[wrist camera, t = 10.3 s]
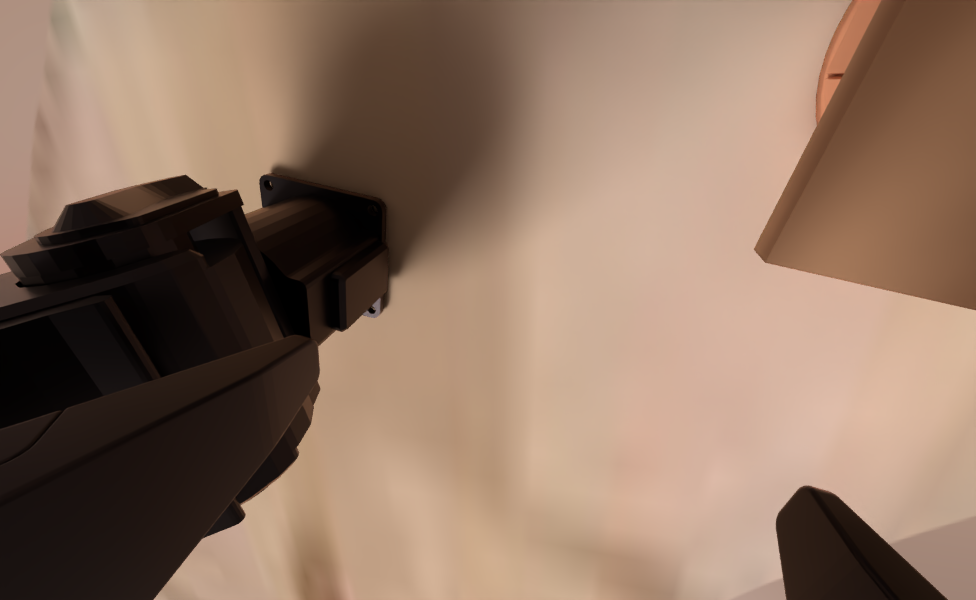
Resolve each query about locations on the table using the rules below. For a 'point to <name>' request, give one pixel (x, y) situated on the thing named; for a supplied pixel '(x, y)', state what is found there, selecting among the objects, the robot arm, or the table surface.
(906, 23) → the lid
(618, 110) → the table surface
